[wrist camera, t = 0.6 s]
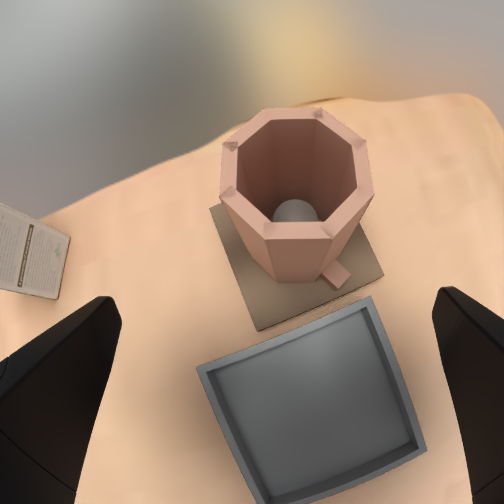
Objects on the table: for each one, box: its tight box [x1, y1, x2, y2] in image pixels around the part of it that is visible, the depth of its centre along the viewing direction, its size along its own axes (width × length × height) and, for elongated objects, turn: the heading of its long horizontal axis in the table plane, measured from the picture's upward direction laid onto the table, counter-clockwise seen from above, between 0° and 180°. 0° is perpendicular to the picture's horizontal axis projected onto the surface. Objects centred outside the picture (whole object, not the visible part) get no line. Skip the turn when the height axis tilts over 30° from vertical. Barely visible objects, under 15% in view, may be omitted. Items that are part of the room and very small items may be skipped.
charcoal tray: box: [196, 296, 427, 504], centre depth 18 cm, size 11×11×2 cm
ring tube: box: [219, 107, 375, 291], centre depth 16 cm, size 7×6×10 cm
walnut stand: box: [209, 199, 384, 331], centre depth 20 cm, size 9×9×5 cm
